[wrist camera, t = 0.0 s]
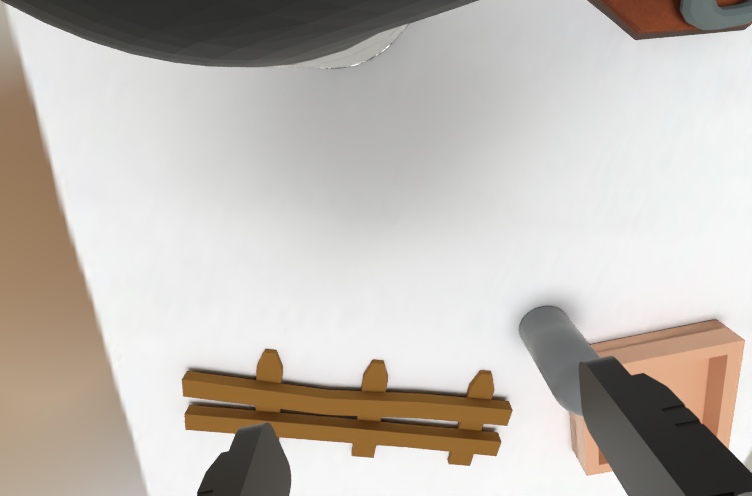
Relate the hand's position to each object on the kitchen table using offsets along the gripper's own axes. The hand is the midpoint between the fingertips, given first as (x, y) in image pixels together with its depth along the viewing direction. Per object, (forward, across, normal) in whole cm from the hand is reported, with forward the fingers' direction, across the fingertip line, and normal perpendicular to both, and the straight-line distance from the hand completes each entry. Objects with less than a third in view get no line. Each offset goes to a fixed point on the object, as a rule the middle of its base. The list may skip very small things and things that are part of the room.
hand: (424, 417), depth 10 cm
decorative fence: (+18, +7, +15) cm, 25 cm away
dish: (+18, -16, +19) cm, 31 cm away
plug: (+18, -9, +11) cm, 23 cm away
